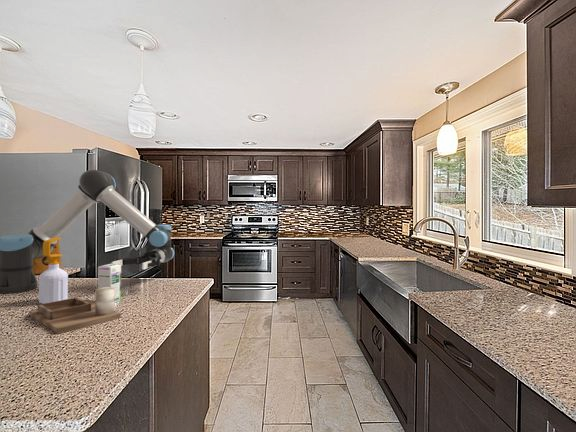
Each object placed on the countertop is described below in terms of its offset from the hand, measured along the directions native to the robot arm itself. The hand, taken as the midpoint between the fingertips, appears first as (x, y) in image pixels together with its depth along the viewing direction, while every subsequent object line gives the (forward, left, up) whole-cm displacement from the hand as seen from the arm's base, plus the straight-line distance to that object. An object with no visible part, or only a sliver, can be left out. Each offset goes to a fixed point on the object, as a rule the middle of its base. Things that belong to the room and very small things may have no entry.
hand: (127, 265), depth 134 cm
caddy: (+13, -24, -12) cm, 30 cm away
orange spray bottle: (-71, -6, -13) cm, 73 cm away
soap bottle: (-12, -22, -13) cm, 28 cm away
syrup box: (+5, -9, -13) cm, 16 cm away
